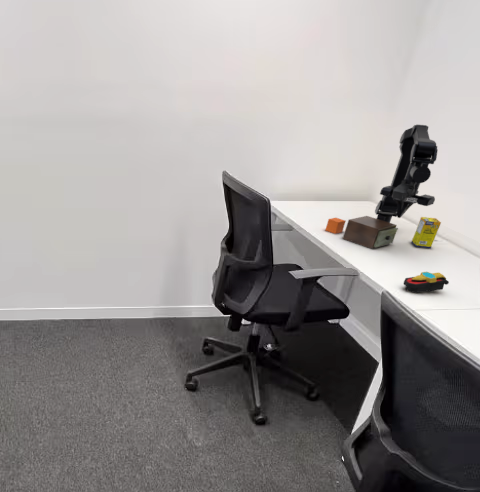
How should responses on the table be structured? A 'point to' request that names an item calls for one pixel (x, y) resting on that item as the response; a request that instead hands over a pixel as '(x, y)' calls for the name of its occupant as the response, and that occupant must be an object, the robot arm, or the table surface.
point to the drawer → (385, 237)
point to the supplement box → (426, 232)
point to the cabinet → (365, 230)
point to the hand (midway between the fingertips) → (398, 217)
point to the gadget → (425, 282)
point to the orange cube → (335, 225)
